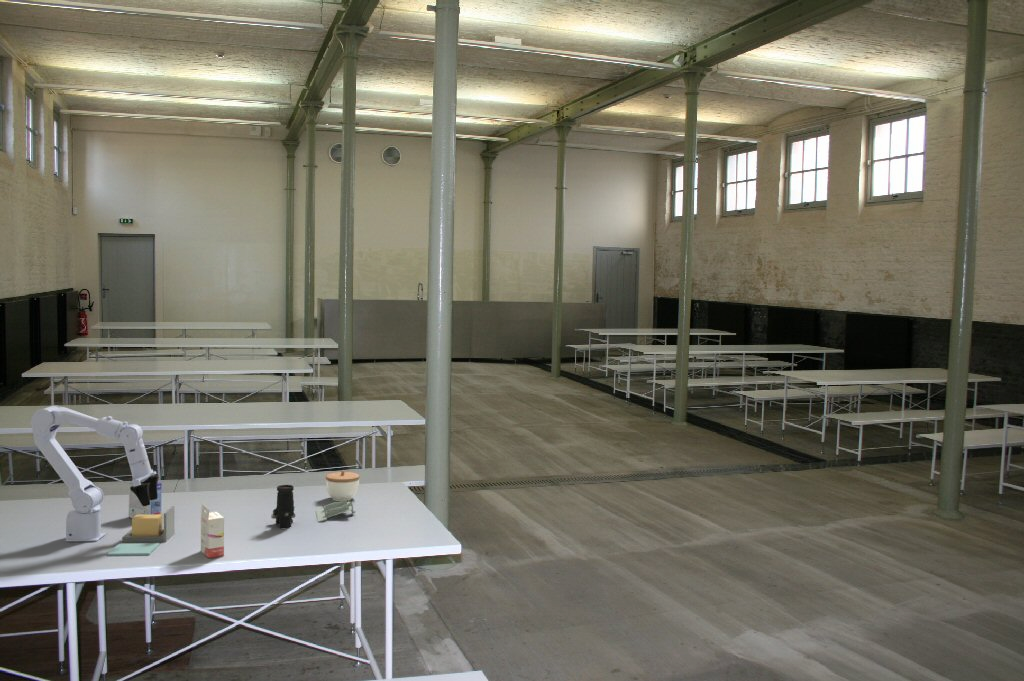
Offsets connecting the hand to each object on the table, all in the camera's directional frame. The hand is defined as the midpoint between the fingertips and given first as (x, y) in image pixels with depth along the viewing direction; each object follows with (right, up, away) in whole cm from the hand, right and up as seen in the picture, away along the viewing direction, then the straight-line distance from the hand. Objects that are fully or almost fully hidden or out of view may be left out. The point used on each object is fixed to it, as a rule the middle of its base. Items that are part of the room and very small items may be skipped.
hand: (150, 502), depth 270 cm
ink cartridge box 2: (+25, -13, -14) cm, 31 cm away
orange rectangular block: (-1, -11, +1) cm, 11 cm away
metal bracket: (+52, -11, +32) cm, 62 cm away
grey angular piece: (-1, -11, +1) cm, 11 cm away
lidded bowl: (+50, -9, +56) cm, 75 cm away
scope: (+38, -11, +17) cm, 43 cm away
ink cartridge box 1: (-12, -10, +23) cm, 28 cm away
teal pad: (0, -12, -12) cm, 17 cm away
